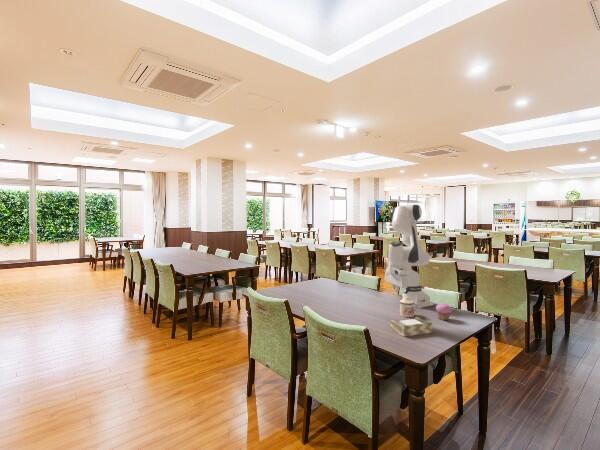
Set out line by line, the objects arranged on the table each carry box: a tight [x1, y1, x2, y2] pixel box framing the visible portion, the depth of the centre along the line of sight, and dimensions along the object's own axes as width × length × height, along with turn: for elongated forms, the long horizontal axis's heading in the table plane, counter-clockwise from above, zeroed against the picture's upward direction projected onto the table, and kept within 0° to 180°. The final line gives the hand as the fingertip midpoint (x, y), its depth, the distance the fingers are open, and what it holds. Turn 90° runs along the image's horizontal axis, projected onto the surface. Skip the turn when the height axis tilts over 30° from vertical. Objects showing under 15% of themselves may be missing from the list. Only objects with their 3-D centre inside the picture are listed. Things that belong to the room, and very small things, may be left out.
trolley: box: [398, 318, 421, 326], centre depth 178 cm, size 11×9×5 cm
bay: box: [389, 316, 433, 337], centre depth 177 cm, size 18×14×6 cm
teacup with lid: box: [399, 297, 418, 318], centre depth 204 cm, size 12×9×12 cm
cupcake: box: [435, 302, 453, 321], centre depth 194 cm, size 9×9×10 cm
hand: (395, 291), depth 192 cm, fingers closed
